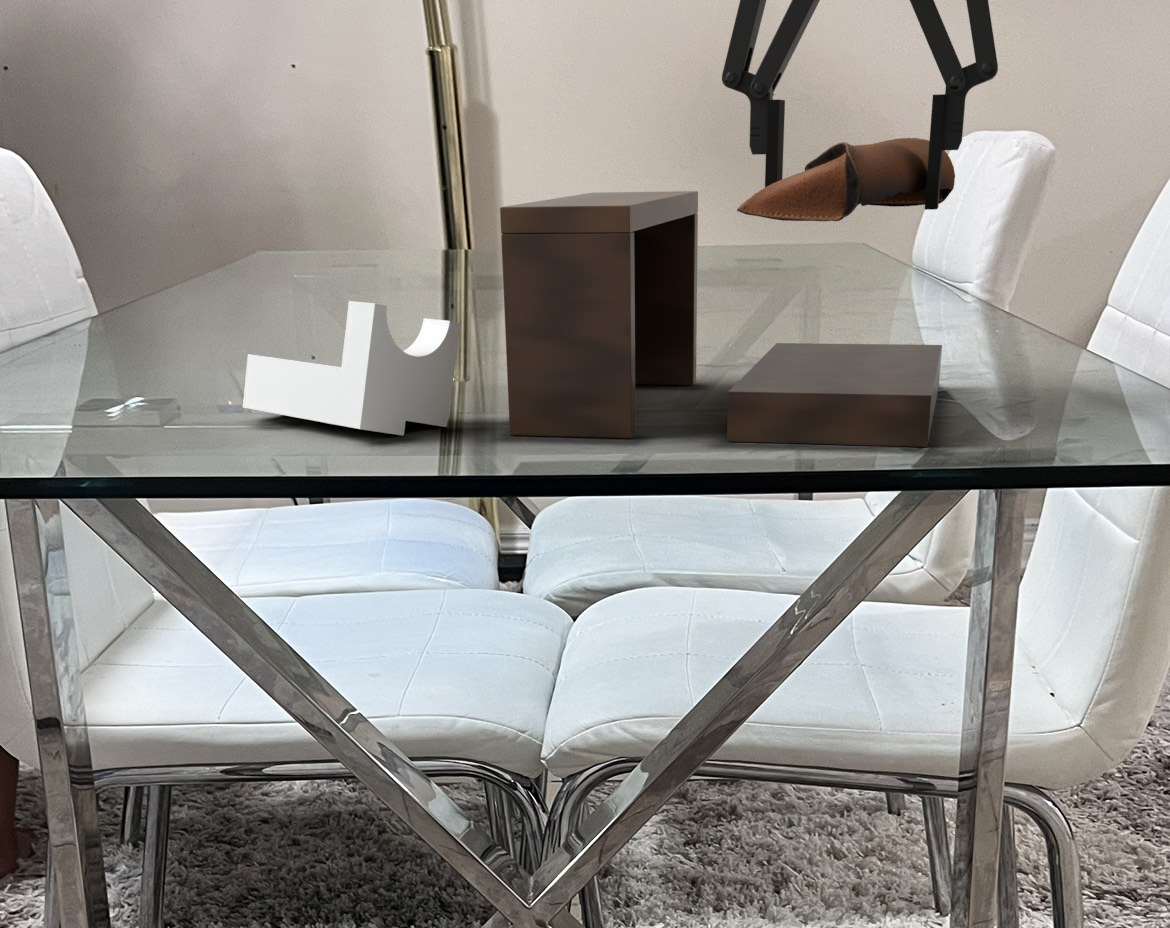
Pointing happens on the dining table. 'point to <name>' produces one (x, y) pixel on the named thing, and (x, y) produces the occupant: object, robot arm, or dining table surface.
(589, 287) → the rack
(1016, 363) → the dining table surface
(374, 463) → the dining table surface
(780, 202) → the sunglasses case
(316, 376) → the bracket
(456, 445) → the dining table surface
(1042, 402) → the dining table surface
